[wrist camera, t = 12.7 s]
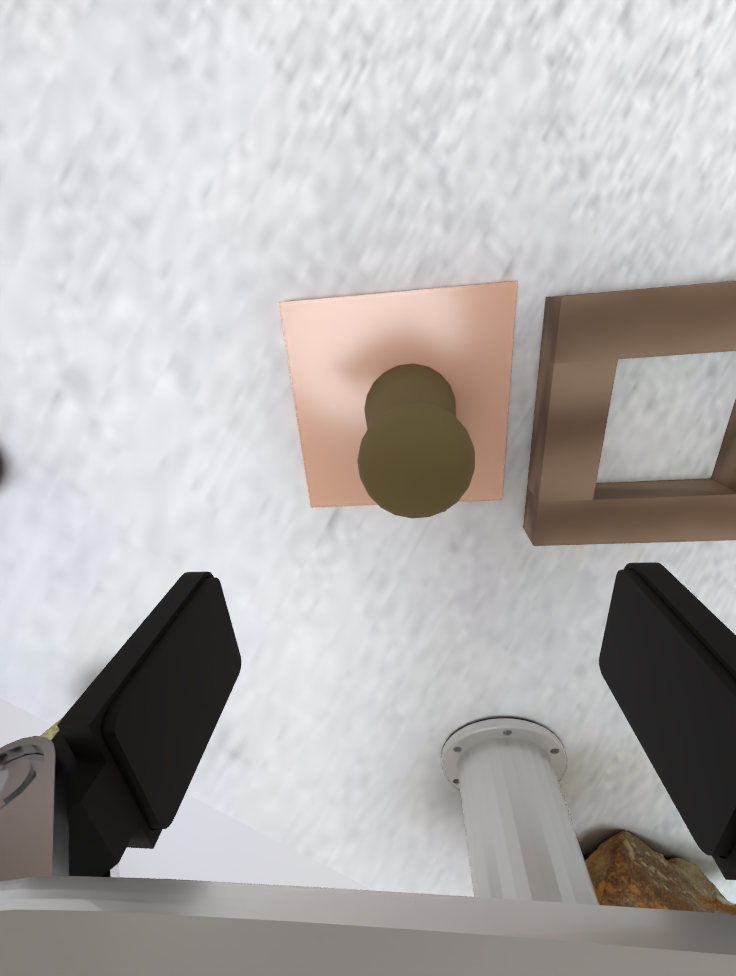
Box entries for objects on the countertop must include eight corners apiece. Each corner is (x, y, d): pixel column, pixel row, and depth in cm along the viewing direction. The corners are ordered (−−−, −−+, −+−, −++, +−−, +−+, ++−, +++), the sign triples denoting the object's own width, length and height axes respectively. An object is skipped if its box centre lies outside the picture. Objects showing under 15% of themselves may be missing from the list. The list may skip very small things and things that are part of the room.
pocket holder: (749, 520, 29) (779, 538, 27) (523, 527, 30) (533, 545, 28) (841, 271, 22) (892, 268, 20) (545, 297, 24) (561, 296, 21)
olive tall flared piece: (425, 343, 24) (445, 371, 14) (472, 423, 26) (518, 497, 16) (346, 397, 26) (314, 456, 16) (395, 469, 28) (394, 561, 18)
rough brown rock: (682, 788, 44) (796, 999, 30) (746, 870, 47) (875, 1093, 33) (497, 837, 52) (521, 1021, 38) (563, 904, 55) (607, 1095, 42)
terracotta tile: (499, 493, 29) (502, 499, 28) (313, 501, 31) (311, 507, 30) (512, 281, 23) (517, 280, 23) (283, 302, 25) (278, 302, 24)
